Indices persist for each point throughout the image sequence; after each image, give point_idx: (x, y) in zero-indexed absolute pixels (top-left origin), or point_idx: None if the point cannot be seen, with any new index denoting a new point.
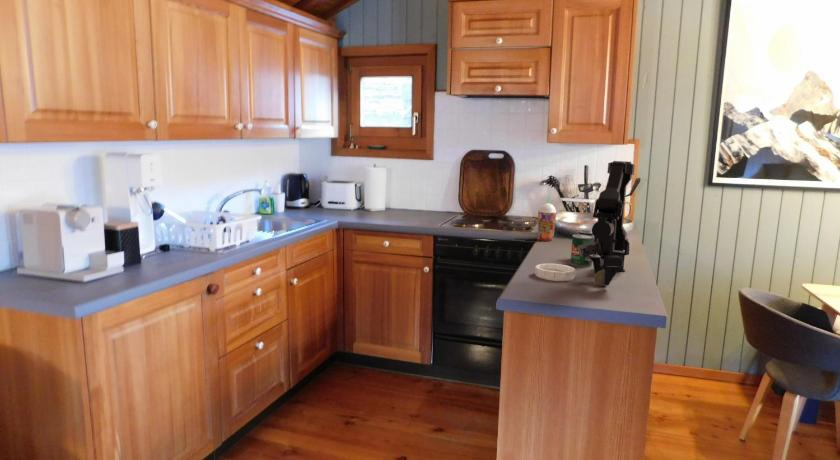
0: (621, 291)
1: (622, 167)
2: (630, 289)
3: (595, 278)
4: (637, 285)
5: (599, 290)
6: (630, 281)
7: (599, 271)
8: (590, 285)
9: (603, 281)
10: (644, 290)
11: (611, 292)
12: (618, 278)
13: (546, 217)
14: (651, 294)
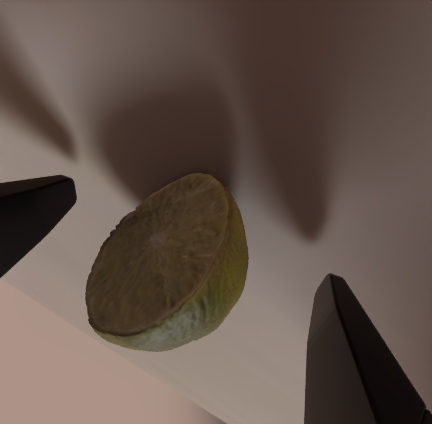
0: (54, 227)
1: None
2: None
3: (216, 207)
4: (185, 369)
5: (29, 80)
6: (264, 403)
7: (169, 307)
8: (192, 94)
9: (136, 222)
10: None
11: (8, 149)
12: None
13: None
14: (46, 306)
